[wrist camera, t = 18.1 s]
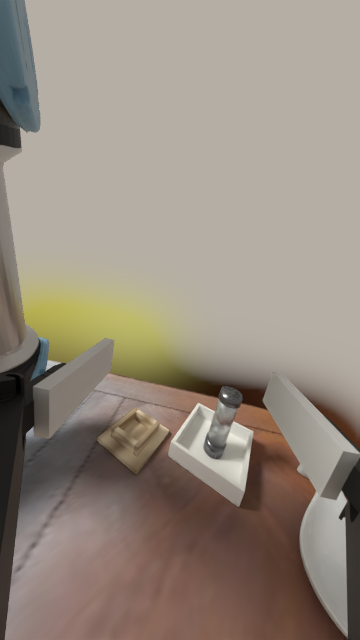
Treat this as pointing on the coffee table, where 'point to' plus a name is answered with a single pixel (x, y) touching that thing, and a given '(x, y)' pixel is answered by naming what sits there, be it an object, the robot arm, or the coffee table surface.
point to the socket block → (133, 439)
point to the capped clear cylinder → (222, 421)
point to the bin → (216, 473)
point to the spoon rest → (326, 554)
